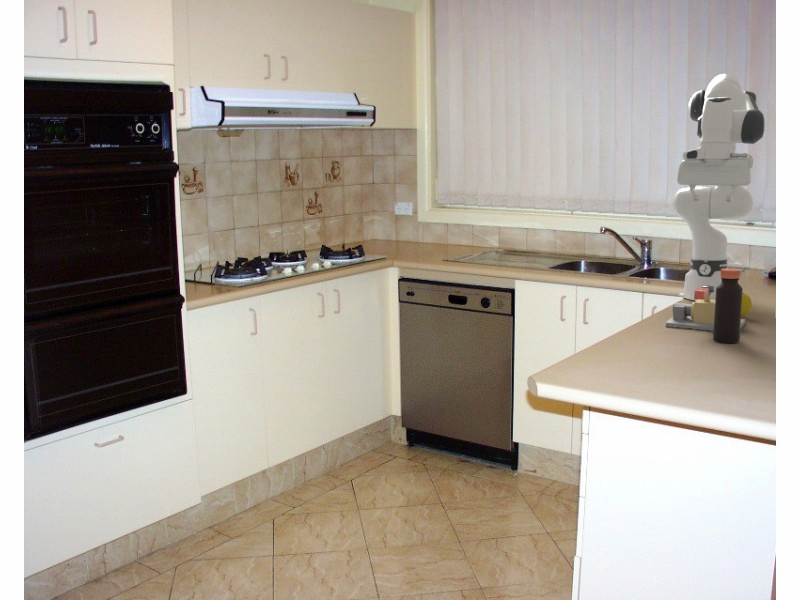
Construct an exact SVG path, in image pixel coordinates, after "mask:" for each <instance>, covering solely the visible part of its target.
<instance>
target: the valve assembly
mask: <svg viewBox="0 0 800 600" xmlns="http://www.w3.org/2000/svg"><path fill="white" fill-rule="evenodd" d="M710 296H711V293H709V294H708V297H706V298H705V299H704V300H699V299H698V300H697V301H695V300H694V301H693V302H692V304H689V303H682V302H679V303H678V302H674V303H673V306H672V316H671V318H669V319H668V320H667V321H666V322H665V327H666V326H676V327H683V328H682V329H686V328H692V329H691V330H696V329H701V330H700V331H706V330H710V331H709V332H714V315H715V300H710ZM745 324H746V318H741V322H740V330H741V329H742V327H743V326H744V325H745Z"/></svg>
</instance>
